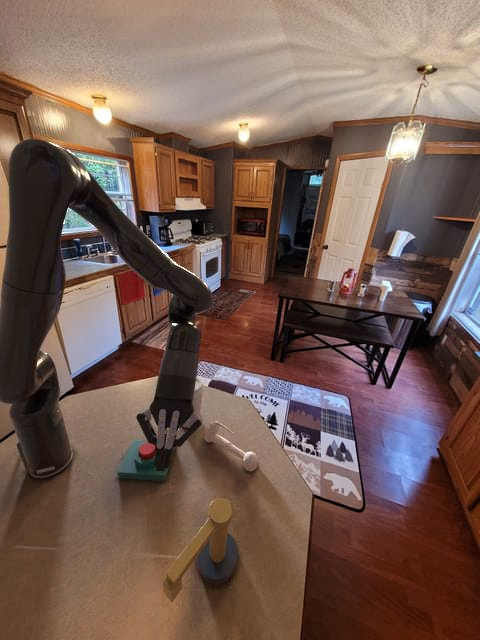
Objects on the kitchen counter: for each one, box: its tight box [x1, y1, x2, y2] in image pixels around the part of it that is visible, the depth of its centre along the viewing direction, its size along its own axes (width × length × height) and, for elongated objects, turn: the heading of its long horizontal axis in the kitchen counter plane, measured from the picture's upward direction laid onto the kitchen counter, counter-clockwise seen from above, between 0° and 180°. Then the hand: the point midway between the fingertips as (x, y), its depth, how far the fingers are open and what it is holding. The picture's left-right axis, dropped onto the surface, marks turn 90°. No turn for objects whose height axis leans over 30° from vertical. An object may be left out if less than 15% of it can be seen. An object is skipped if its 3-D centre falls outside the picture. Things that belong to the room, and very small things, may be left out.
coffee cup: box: [182, 376, 205, 429], centre depth 81 cm, size 10×10×15 cm
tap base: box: [196, 527, 238, 586], centre depth 49 cm, size 8×8×13 cm
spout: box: [161, 497, 233, 604], centre depth 42 cm, size 14×4×5 cm, turn 143°
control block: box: [117, 439, 176, 482], centre depth 69 cm, size 12×10×4 cm
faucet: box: [203, 420, 259, 472], centre depth 73 cm, size 4×18×10 cm, turn 57°
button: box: [139, 442, 156, 459], centre depth 68 cm, size 4×4×2 cm
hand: (161, 470), depth 46 cm, fingers closed
